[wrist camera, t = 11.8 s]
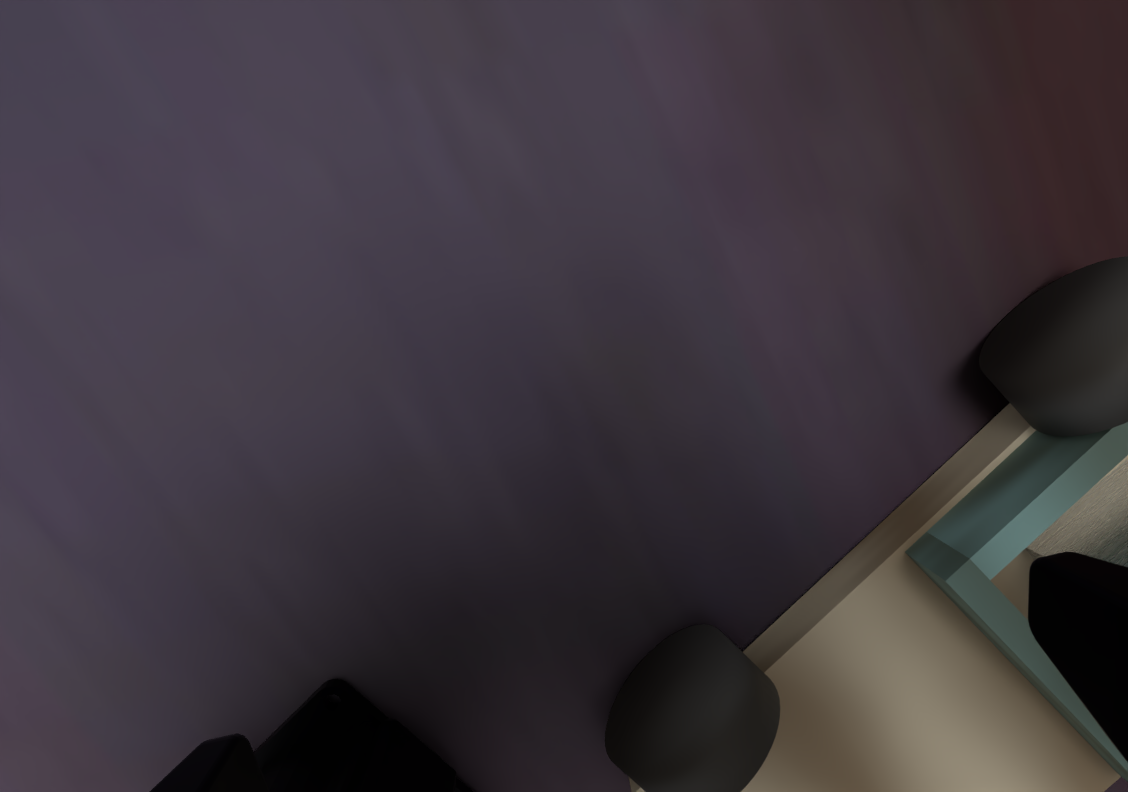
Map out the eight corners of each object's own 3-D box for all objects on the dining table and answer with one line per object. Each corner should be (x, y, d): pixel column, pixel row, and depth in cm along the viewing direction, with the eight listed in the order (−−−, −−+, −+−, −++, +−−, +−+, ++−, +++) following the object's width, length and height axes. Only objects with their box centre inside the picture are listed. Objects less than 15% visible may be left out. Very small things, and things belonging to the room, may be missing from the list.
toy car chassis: (881, 993, 24) (959, 1150, 20) (579, 719, 22) (590, 825, 18) (1366, 572, 22) (1567, 640, 18) (1087, 238, 21) (1237, 226, 16)
